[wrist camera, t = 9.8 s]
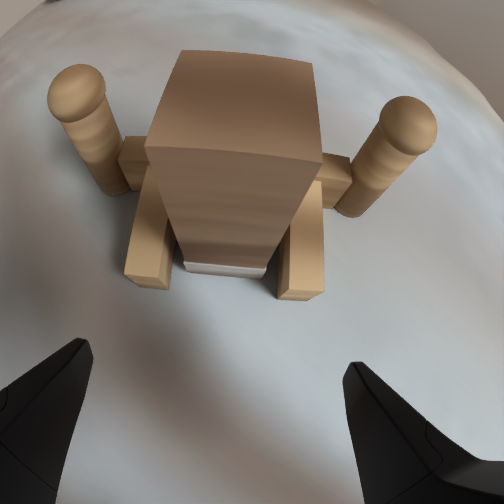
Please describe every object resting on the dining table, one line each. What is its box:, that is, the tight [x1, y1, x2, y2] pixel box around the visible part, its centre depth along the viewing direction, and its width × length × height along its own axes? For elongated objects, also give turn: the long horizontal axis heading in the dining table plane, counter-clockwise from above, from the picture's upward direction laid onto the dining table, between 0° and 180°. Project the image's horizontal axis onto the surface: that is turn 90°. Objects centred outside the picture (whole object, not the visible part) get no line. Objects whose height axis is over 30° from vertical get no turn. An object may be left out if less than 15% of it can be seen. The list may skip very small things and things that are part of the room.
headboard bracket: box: [47, 64, 437, 301], centre depth 15 cm, size 10×21×11 cm, turn 87°
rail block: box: [144, 50, 323, 279], centre depth 14 cm, size 5×5×13 cm
